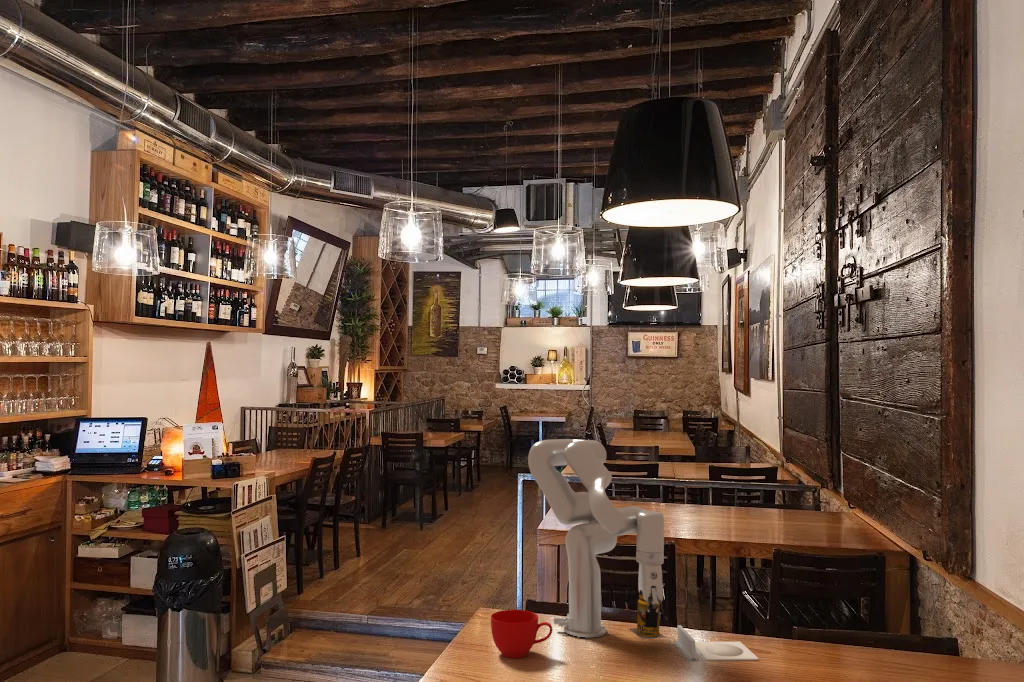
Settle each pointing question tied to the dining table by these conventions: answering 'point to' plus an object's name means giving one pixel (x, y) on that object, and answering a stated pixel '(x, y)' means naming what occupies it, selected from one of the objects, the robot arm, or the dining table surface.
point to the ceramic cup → (516, 632)
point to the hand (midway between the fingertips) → (648, 622)
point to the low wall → (686, 644)
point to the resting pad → (724, 651)
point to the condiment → (641, 617)
